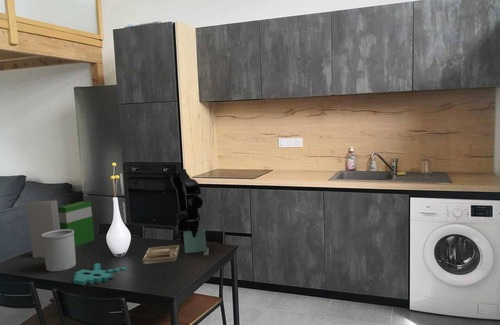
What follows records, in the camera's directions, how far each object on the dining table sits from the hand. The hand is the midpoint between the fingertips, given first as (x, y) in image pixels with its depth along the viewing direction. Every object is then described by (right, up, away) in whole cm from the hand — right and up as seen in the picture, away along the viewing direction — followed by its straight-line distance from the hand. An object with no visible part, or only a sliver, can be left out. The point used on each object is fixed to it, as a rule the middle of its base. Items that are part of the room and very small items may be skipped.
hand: (194, 235), depth 217 cm
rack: (-16, -11, -3) cm, 20 cm away
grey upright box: (-83, -14, +15) cm, 85 cm away
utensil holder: (-66, -15, -6) cm, 68 cm away
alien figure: (-42, -16, -23) cm, 51 cm away
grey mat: (+1, -9, +1) cm, 10 cm away
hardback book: (-74, -11, +35) cm, 83 cm away
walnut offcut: (-16, -9, -9) cm, 21 cm away
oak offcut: (-16, -11, -9) cm, 21 cm away
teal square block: (+1, -9, +1) cm, 9 cm away
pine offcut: (-15, -8, -9) cm, 19 cm away
